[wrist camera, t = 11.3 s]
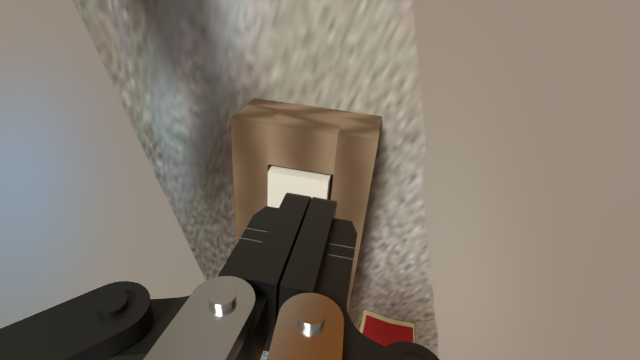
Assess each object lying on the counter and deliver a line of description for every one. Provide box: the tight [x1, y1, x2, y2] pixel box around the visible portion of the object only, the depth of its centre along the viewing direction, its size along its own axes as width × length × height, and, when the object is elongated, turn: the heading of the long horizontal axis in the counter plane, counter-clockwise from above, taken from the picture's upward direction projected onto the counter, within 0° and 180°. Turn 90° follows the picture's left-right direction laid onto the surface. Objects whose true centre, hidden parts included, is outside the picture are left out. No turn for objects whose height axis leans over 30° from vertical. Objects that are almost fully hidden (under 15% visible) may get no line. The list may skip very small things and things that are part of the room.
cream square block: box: [267, 165, 333, 208], centre depth 39 cm, size 6×6×4 cm
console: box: [230, 98, 381, 312], centre depth 44 cm, size 14×28×6 cm, turn 175°
